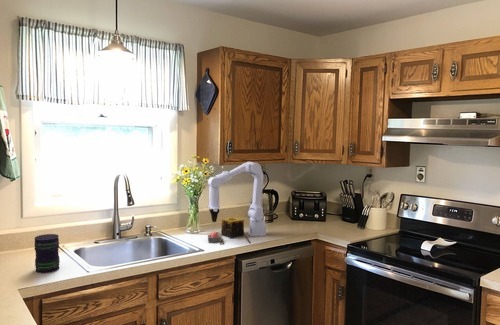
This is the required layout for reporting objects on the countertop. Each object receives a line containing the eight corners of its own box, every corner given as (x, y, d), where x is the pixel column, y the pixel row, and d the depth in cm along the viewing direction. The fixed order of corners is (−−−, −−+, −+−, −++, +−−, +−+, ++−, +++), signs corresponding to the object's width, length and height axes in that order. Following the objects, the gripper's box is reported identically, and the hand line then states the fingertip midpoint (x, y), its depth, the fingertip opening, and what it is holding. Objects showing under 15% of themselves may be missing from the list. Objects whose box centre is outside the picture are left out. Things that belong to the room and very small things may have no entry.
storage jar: (63, 265, 192) (62, 234, 190) (54, 273, 182) (53, 239, 181) (41, 265, 191) (40, 234, 190) (31, 273, 182) (29, 239, 180)
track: (243, 232, 256) (243, 231, 256) (251, 243, 232) (251, 242, 232) (215, 233, 253) (215, 232, 253) (219, 244, 229) (219, 243, 229)
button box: (219, 239, 240) (219, 234, 239) (220, 242, 233) (220, 237, 233) (207, 239, 238) (207, 234, 238) (208, 243, 232) (208, 237, 232)
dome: (217, 240, 238) (217, 231, 238) (218, 241, 234) (218, 233, 234) (210, 240, 237) (210, 231, 237) (210, 242, 234) (210, 233, 233)
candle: (230, 238, 242) (230, 221, 241) (220, 235, 249) (220, 218, 249) (244, 236, 248) (244, 219, 247) (234, 232, 256) (234, 216, 255)
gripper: (206, 196, 244) (206, 219, 245) (208, 200, 230) (208, 224, 231) (218, 196, 245) (218, 218, 247) (221, 200, 231) (221, 224, 232)
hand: (214, 221), depth 239 cm, fingers closed
